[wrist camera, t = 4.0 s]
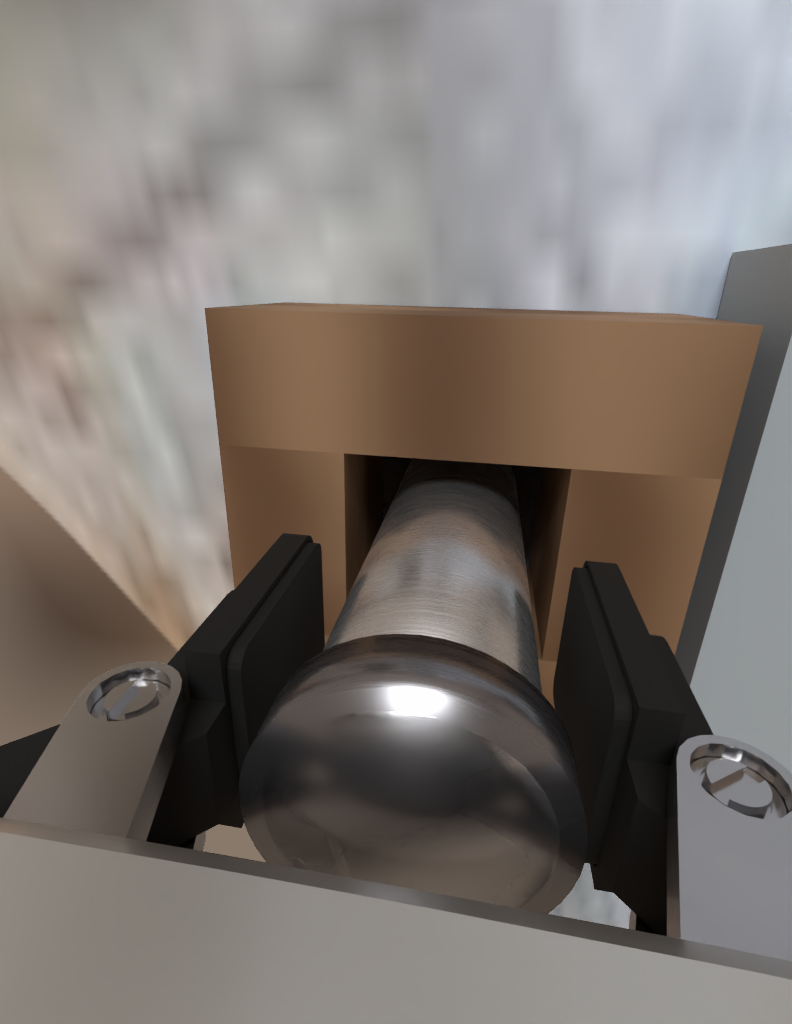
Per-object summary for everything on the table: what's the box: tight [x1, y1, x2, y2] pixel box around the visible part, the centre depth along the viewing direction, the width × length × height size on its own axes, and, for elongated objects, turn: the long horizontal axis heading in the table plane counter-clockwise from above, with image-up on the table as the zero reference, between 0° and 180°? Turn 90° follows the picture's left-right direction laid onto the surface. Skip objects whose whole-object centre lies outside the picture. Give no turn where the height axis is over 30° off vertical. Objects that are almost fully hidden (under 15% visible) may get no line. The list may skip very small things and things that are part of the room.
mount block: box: [205, 303, 763, 709], centre depth 15 cm, size 11×11×5 cm
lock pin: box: [239, 458, 588, 914], centre depth 12 cm, size 4×4×12 cm
